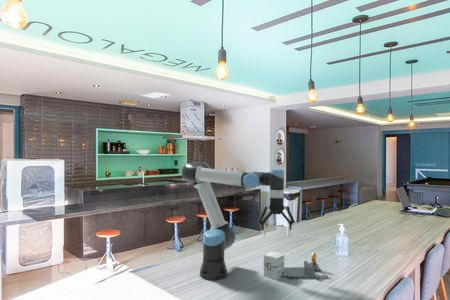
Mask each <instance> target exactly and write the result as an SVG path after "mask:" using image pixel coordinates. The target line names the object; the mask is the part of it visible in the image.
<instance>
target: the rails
mask: <svg viewBox="0 0 450 300" xmlns="http://www.w3.org/2000/svg"><path fill="white" fill-rule="evenodd" d="M317 271H319V273H321V274H315V273H314V279H315V280H317V279H327V280H329V275H328V274H327V273H326V272H325V271H324V270H322V268H321V267H320V266H318V270H317Z"/></svg>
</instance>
